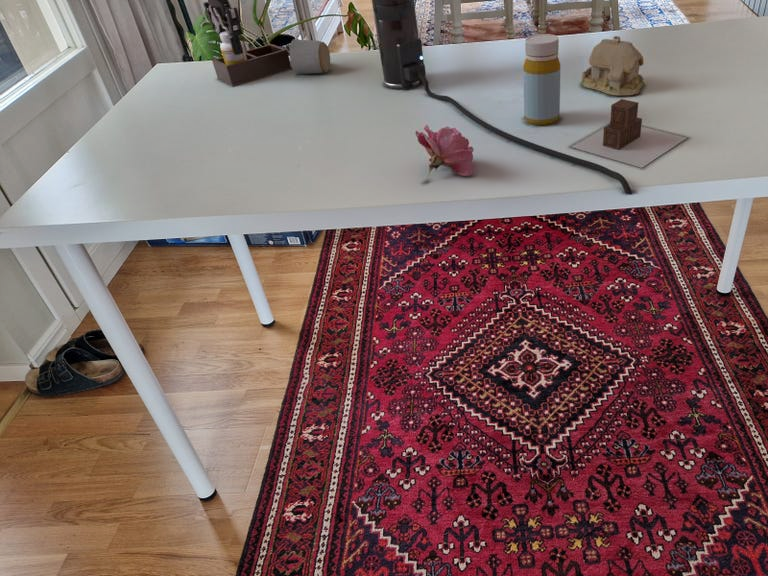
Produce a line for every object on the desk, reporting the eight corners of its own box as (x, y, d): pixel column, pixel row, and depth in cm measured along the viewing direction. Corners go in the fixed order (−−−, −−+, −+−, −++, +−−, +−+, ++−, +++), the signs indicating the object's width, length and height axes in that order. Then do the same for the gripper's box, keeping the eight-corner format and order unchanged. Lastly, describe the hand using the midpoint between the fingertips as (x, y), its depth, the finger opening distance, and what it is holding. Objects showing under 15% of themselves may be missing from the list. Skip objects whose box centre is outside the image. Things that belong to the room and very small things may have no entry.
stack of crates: (641, 168, 109) (646, 128, 105) (570, 147, 117) (572, 109, 113) (686, 138, 117) (692, 100, 112) (617, 120, 125) (620, 84, 120)
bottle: (536, 129, 124) (535, 46, 114) (518, 118, 129) (516, 38, 119) (566, 120, 127) (568, 39, 117) (547, 110, 131) (547, 31, 121)
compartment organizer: (291, 68, 164) (287, 49, 161) (232, 86, 156) (226, 66, 153) (275, 62, 169) (271, 43, 166) (217, 79, 161) (211, 60, 158)
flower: (452, 172, 120) (480, 126, 115) (459, 200, 113) (489, 153, 108) (397, 145, 115) (424, 96, 109) (402, 174, 108) (431, 123, 102)
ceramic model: (653, 83, 139) (659, 33, 132) (630, 100, 133) (635, 48, 126) (595, 74, 146) (598, 26, 139) (571, 89, 139) (572, 40, 133)
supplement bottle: (234, 71, 163) (222, 29, 156) (254, 71, 162) (242, 29, 155) (225, 78, 159) (212, 36, 152) (246, 78, 158) (233, 35, 151)
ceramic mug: (325, 76, 157) (318, 43, 152) (293, 77, 158) (285, 44, 153) (337, 63, 165) (331, 31, 160) (307, 64, 166) (299, 32, 161)
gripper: (238, -28, 143) (260, 53, 154) (212, -34, 151) (234, 43, 163) (207, -21, 139) (232, 61, 151) (181, -28, 148) (207, 50, 159)
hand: (233, 51), depth 157 cm, fingers closed on supplement bottle, 5 cm apart
